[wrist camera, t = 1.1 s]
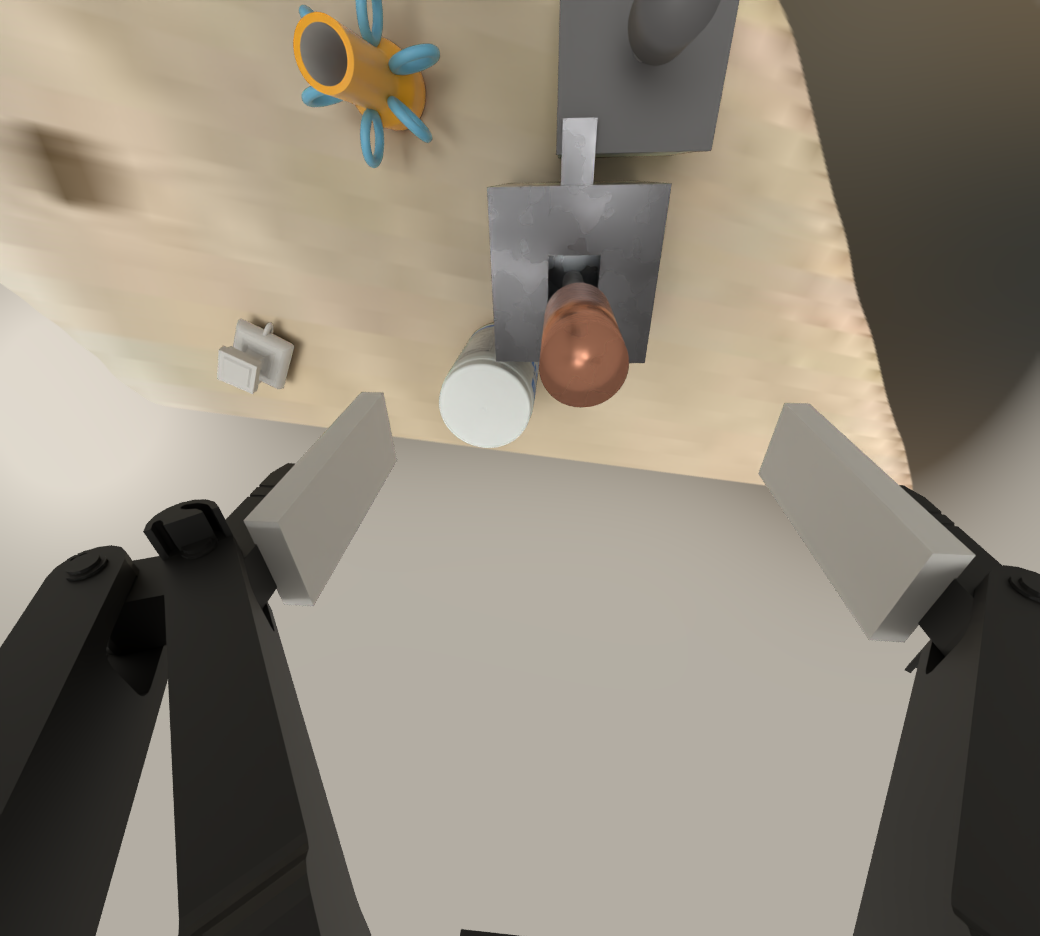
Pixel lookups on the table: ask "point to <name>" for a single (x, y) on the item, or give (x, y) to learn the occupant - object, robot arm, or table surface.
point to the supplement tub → (487, 394)
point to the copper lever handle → (581, 345)
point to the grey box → (574, 247)
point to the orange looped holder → (364, 73)
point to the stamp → (255, 358)
